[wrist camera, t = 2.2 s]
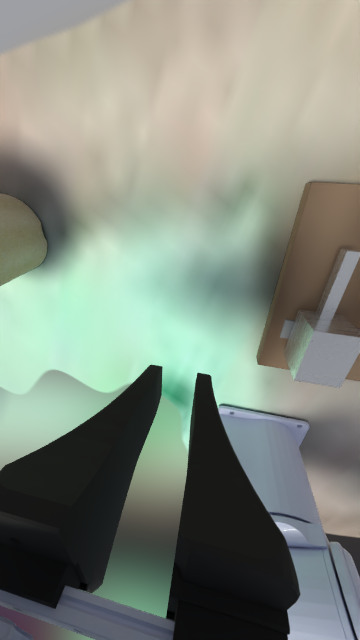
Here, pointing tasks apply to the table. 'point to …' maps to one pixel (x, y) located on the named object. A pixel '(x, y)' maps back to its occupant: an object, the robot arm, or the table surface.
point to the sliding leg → (325, 333)
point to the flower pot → (19, 239)
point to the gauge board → (315, 266)
